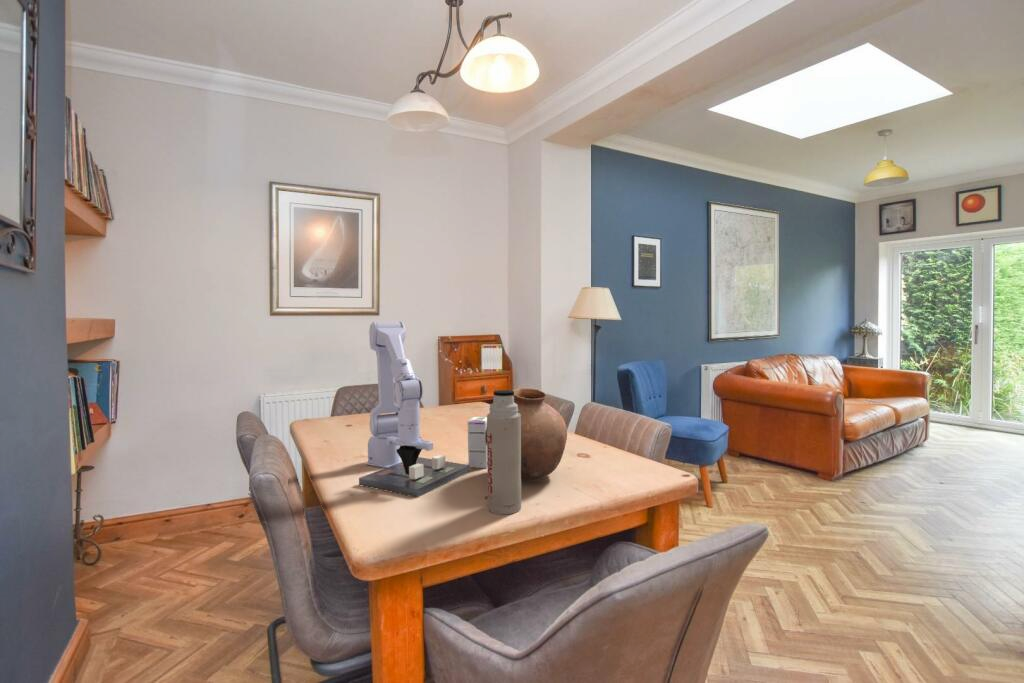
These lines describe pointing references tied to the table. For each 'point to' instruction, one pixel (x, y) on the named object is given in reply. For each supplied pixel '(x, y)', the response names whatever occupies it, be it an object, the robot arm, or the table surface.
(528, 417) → the pottery
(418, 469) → the beige rectangular block
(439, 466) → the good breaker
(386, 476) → the breaker panel
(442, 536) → the table surface
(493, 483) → the thermos bottle
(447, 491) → the table surface
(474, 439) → the syrup box
